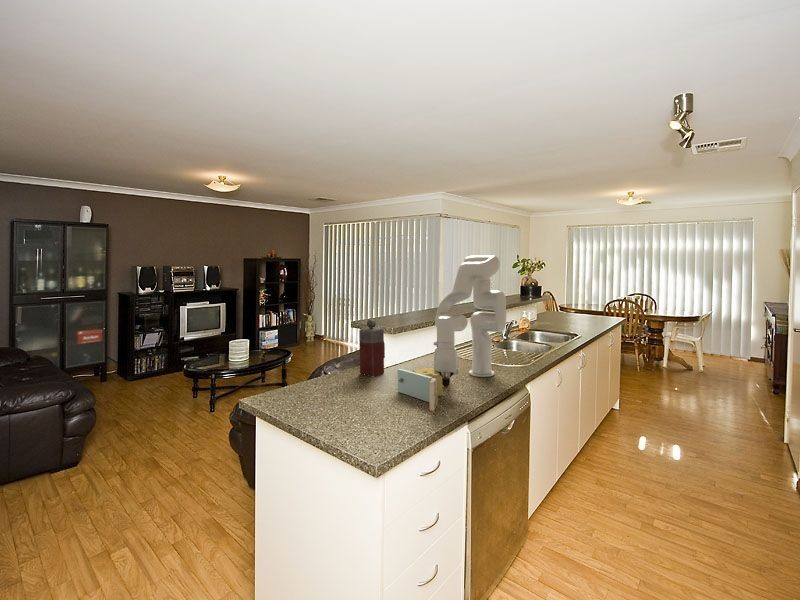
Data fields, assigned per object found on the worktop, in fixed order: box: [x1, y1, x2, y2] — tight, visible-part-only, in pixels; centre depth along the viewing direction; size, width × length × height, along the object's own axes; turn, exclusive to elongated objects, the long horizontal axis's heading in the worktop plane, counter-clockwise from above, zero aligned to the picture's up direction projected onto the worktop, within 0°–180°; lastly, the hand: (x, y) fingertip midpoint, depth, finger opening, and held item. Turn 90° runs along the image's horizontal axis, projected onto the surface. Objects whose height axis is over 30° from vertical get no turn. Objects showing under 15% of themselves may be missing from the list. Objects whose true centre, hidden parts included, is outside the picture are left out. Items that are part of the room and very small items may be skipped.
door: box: [397, 368, 432, 403], centre depth 180 cm, size 20×4×10 cm, turn 41°
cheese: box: [411, 367, 444, 397], centre depth 185 cm, size 10×11×10 cm
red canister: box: [358, 318, 386, 377], centre depth 219 cm, size 9×11×28 cm
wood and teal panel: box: [429, 372, 448, 412], centre depth 183 cm, size 40×2×12 cm, turn 166°
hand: (446, 386), depth 186 cm, fingers closed
